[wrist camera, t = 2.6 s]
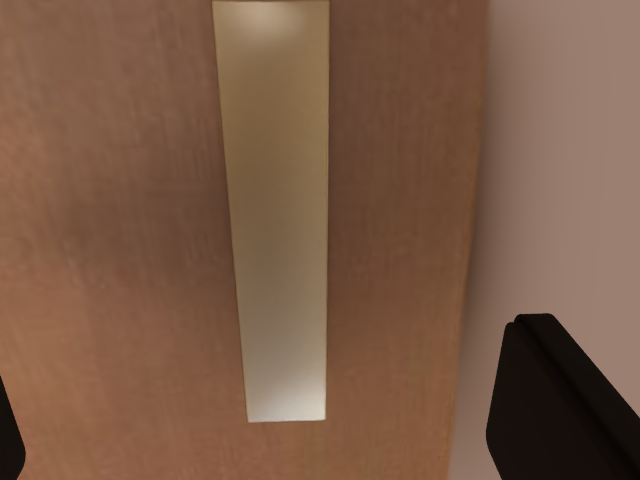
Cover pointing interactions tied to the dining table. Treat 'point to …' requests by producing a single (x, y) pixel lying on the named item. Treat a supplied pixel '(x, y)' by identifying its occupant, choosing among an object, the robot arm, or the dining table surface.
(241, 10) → the stick
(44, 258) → the dining table surface
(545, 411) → the robot arm
